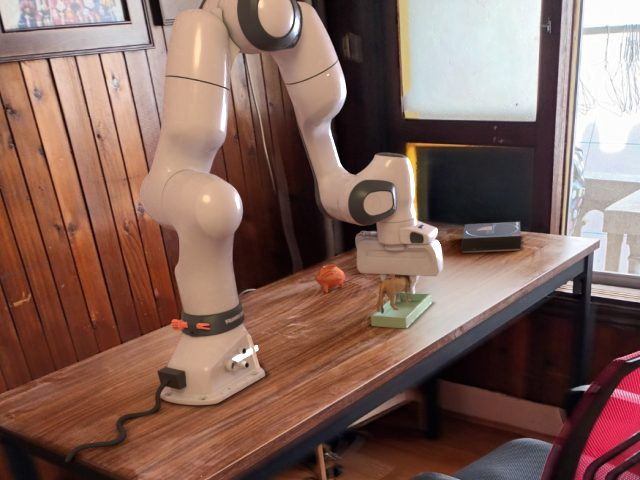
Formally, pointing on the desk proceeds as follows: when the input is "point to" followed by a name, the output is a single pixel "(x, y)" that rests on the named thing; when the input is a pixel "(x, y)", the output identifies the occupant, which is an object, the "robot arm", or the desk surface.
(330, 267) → the pot
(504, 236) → the portable cd player
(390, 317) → the tray
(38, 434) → the desk surface
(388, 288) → the lion figurine
